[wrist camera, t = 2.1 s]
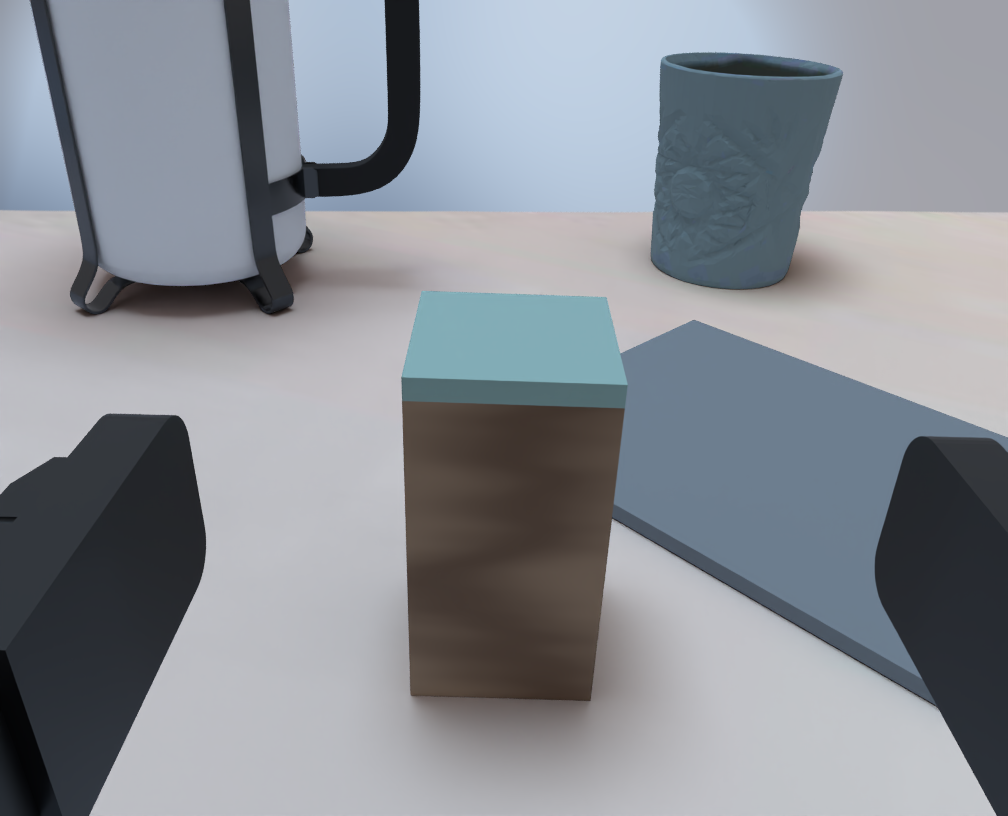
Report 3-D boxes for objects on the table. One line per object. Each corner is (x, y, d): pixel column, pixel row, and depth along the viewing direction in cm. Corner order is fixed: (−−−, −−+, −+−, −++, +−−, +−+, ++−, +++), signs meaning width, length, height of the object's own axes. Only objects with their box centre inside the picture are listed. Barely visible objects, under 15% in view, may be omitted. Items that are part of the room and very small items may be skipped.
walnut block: (410, 695, 24) (401, 377, 19) (425, 575, 28) (421, 290, 23) (590, 700, 24) (627, 384, 19) (578, 580, 28) (606, 297, 24)
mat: (470, 434, 36) (470, 422, 36) (692, 330, 46) (693, 319, 46) (960, 719, 24) (967, 704, 24) (1118, 494, 34) (1124, 481, 34)
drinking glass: (650, 290, 51) (678, 73, 45) (627, 234, 60) (648, 46, 54) (822, 295, 51) (872, 80, 45) (774, 238, 60) (810, 52, 54)
